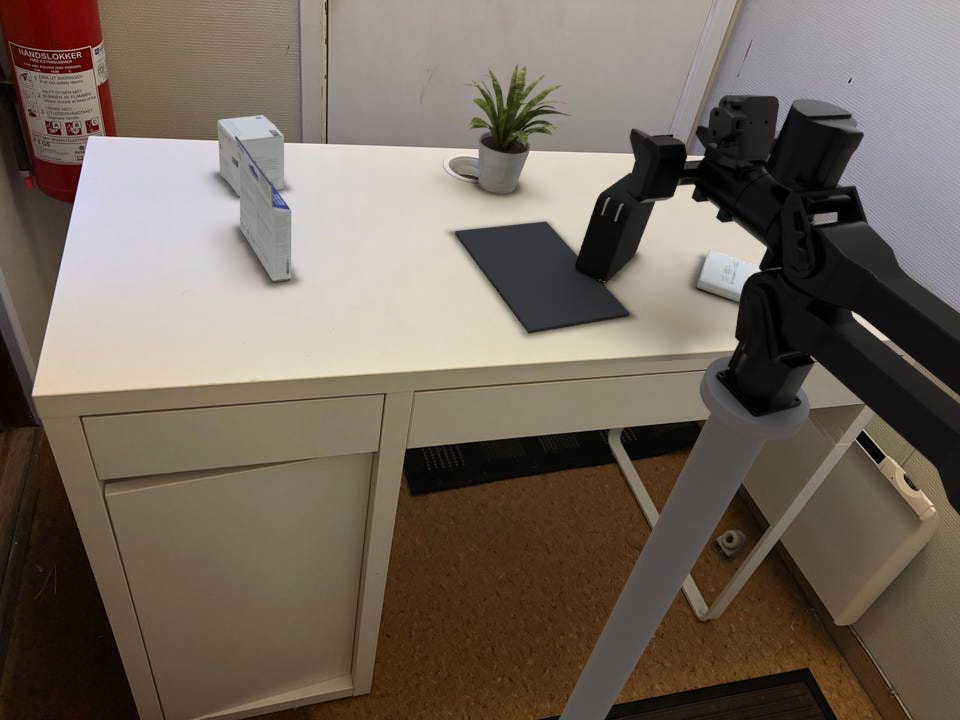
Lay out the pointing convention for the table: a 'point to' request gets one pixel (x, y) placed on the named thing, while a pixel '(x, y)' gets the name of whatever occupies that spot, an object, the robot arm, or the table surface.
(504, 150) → the house plant
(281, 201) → the ink box
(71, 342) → the table surface
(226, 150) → the white cardboard box
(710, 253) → the hard drive
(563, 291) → the mat
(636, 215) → the electronic device
